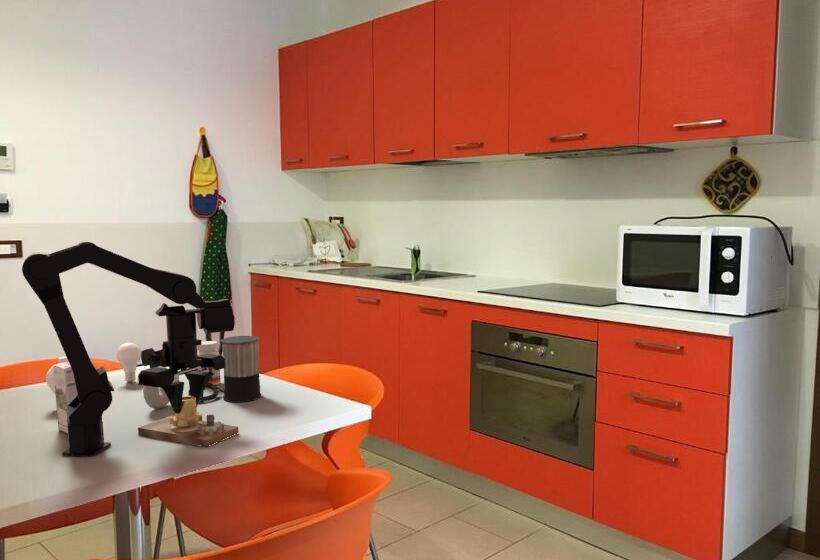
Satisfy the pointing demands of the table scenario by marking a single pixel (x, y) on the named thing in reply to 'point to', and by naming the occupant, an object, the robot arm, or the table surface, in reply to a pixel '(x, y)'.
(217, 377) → the pill bottle
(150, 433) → the board
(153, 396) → the donut
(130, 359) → the lightbulb
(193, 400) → the brass gear
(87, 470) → the table surface
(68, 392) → the syrup box
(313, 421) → the table surface
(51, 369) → the spinning top
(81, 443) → the robot arm
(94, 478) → the table surface
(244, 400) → the milk frother
